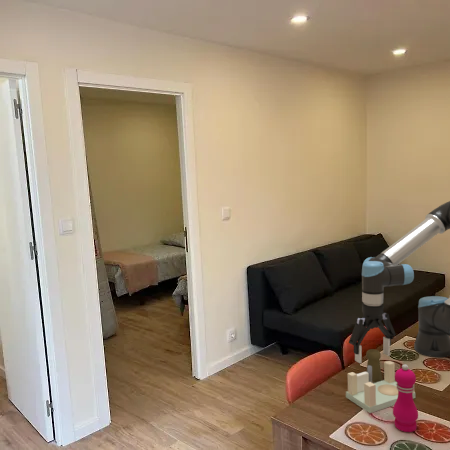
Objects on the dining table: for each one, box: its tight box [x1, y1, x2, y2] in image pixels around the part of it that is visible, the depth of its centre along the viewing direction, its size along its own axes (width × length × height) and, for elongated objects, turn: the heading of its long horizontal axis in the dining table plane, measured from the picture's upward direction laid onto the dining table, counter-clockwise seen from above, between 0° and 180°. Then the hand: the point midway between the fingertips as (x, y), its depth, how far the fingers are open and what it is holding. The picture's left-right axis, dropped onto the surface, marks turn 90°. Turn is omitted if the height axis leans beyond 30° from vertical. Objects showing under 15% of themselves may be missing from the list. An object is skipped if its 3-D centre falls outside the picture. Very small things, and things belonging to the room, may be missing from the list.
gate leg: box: [347, 371, 369, 395], centre depth 156 cm, size 8×2×7 cm, turn 114°
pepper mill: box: [392, 364, 419, 433], centre depth 137 cm, size 7×7×20 cm
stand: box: [345, 360, 416, 414], centre depth 155 cm, size 20×12×10 cm, turn 114°
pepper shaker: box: [365, 348, 383, 383], centre depth 169 cm, size 6×6×11 cm
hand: (372, 358), depth 169 cm, fingers open, 13 cm apart
